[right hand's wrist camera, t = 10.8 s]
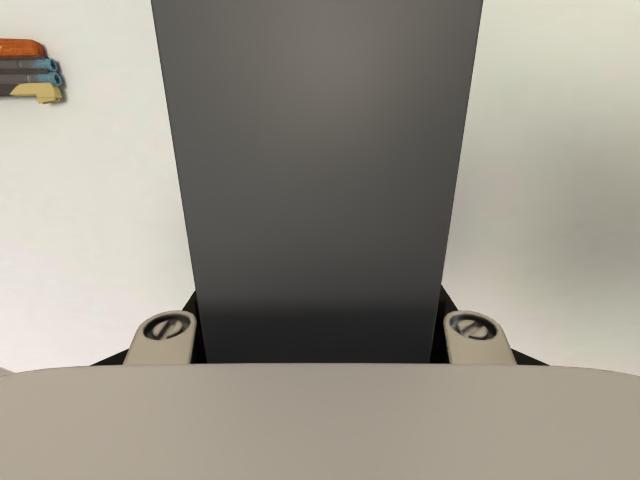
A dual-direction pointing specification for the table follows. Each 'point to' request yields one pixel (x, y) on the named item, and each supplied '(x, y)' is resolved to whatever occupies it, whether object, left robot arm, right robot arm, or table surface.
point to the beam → (317, 169)
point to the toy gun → (28, 71)
